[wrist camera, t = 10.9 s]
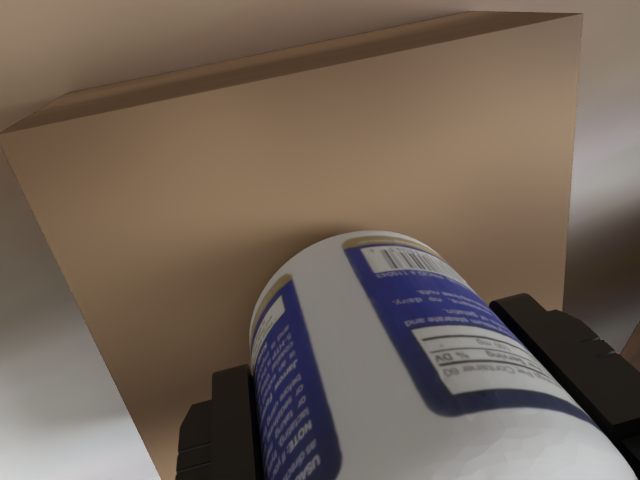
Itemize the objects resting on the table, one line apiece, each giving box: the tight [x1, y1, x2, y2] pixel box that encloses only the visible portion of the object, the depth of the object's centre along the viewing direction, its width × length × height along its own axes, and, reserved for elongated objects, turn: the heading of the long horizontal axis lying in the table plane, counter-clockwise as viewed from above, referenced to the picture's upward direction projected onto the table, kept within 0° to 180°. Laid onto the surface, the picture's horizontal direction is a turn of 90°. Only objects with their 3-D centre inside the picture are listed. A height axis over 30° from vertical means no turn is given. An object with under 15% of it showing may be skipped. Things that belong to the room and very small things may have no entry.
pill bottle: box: [249, 230, 638, 480], centre depth 8 cm, size 5×5×9 cm
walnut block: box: [0, 11, 583, 480], centre depth 15 cm, size 12×12×5 cm
